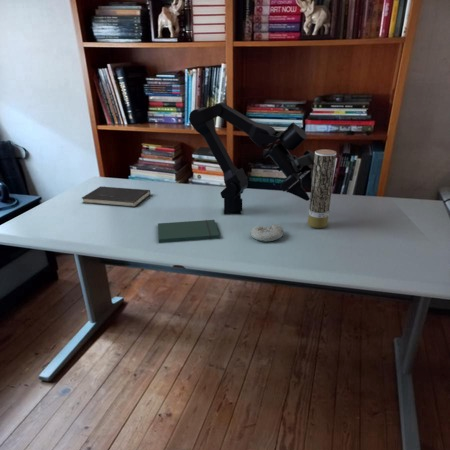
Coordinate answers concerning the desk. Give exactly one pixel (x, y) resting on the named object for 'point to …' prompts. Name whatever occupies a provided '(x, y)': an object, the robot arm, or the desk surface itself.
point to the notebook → (187, 231)
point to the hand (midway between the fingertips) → (312, 195)
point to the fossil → (267, 233)
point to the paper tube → (321, 188)
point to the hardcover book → (116, 196)
